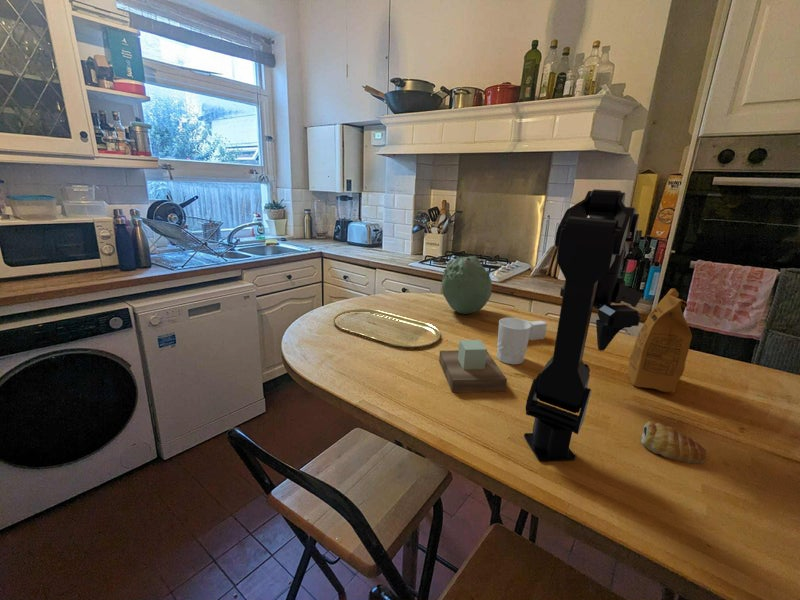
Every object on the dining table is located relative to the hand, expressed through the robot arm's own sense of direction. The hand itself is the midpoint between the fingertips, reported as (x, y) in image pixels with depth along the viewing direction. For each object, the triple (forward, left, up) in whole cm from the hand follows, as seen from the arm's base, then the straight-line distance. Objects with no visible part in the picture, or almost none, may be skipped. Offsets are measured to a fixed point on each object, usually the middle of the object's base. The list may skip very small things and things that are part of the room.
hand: (588, 340), depth 80 cm
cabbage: (+49, +13, -12) cm, 52 cm away
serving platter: (+35, +41, -13) cm, 56 cm away
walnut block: (+7, +23, -12) cm, 27 cm away
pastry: (-19, -6, -12) cm, 23 cm away
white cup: (+15, +10, -12) cm, 22 cm away
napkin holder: (+27, 0, -13) cm, 30 cm away
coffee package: (+3, -20, -12) cm, 24 cm away
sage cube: (+7, +23, -9) cm, 26 cm away
